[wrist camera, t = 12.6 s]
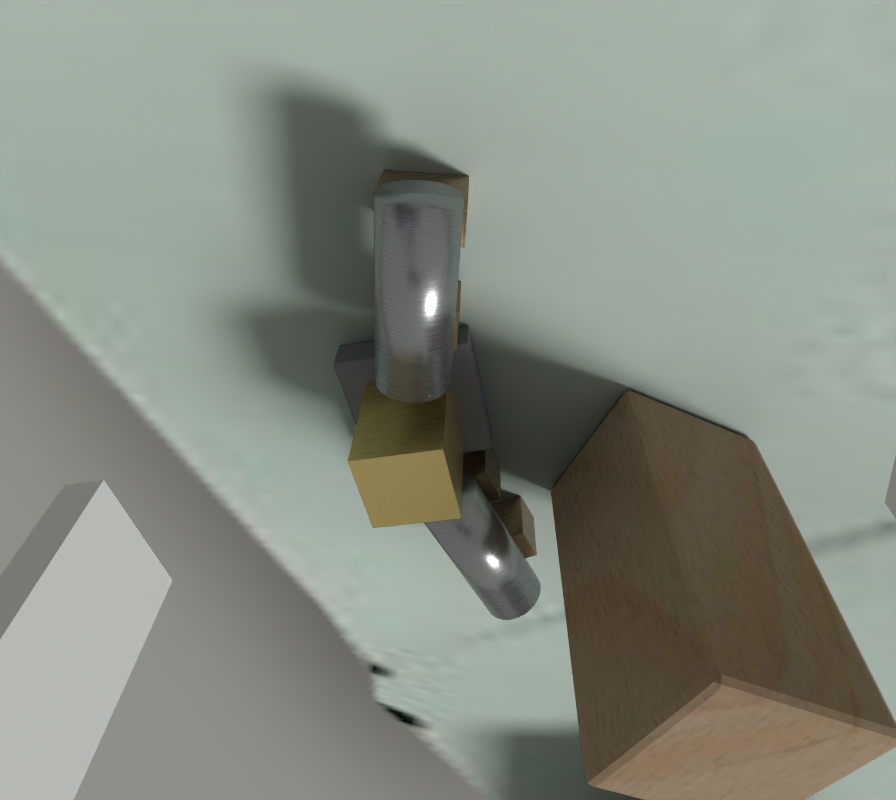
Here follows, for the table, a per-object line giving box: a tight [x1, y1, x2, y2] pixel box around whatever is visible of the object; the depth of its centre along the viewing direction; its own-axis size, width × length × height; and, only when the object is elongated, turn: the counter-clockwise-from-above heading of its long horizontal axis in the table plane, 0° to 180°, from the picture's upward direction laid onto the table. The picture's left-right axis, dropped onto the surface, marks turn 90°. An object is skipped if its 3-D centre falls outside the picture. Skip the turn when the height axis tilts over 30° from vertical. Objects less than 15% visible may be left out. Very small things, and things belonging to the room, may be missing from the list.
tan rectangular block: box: [348, 382, 464, 528], centre depth 39 cm, size 5×5×7 cm
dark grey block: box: [334, 326, 491, 453], centre depth 42 cm, size 8×8×2 cm
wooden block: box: [551, 391, 896, 800], centre depth 38 cm, size 10×10×20 cm
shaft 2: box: [424, 448, 540, 620], centre depth 45 cm, size 10×4×8 cm, turn 27°
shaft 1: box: [374, 170, 469, 403], centre depth 35 cm, size 10×4×8 cm, turn 177°
